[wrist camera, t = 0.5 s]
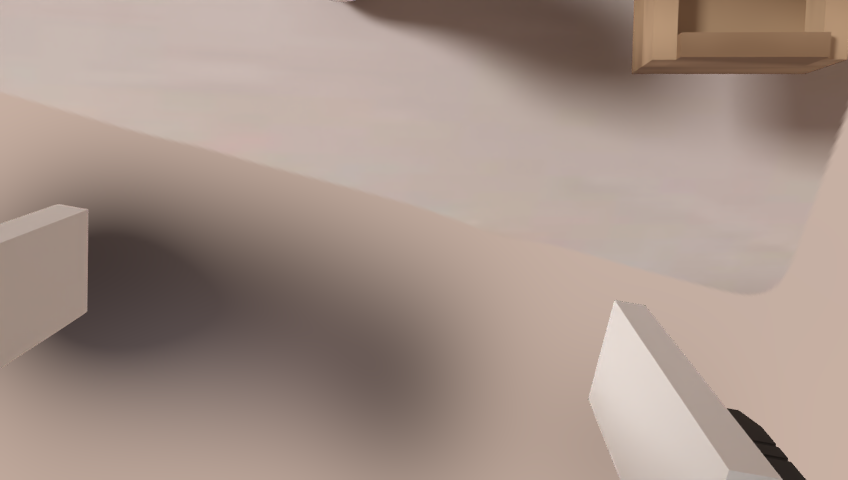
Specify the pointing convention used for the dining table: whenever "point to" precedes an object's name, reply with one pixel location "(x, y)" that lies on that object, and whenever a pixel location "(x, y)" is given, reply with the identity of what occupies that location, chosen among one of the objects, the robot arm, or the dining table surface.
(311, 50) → the dining table surface
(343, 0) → the plastic bottle
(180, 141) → the dining table surface
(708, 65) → the beam
